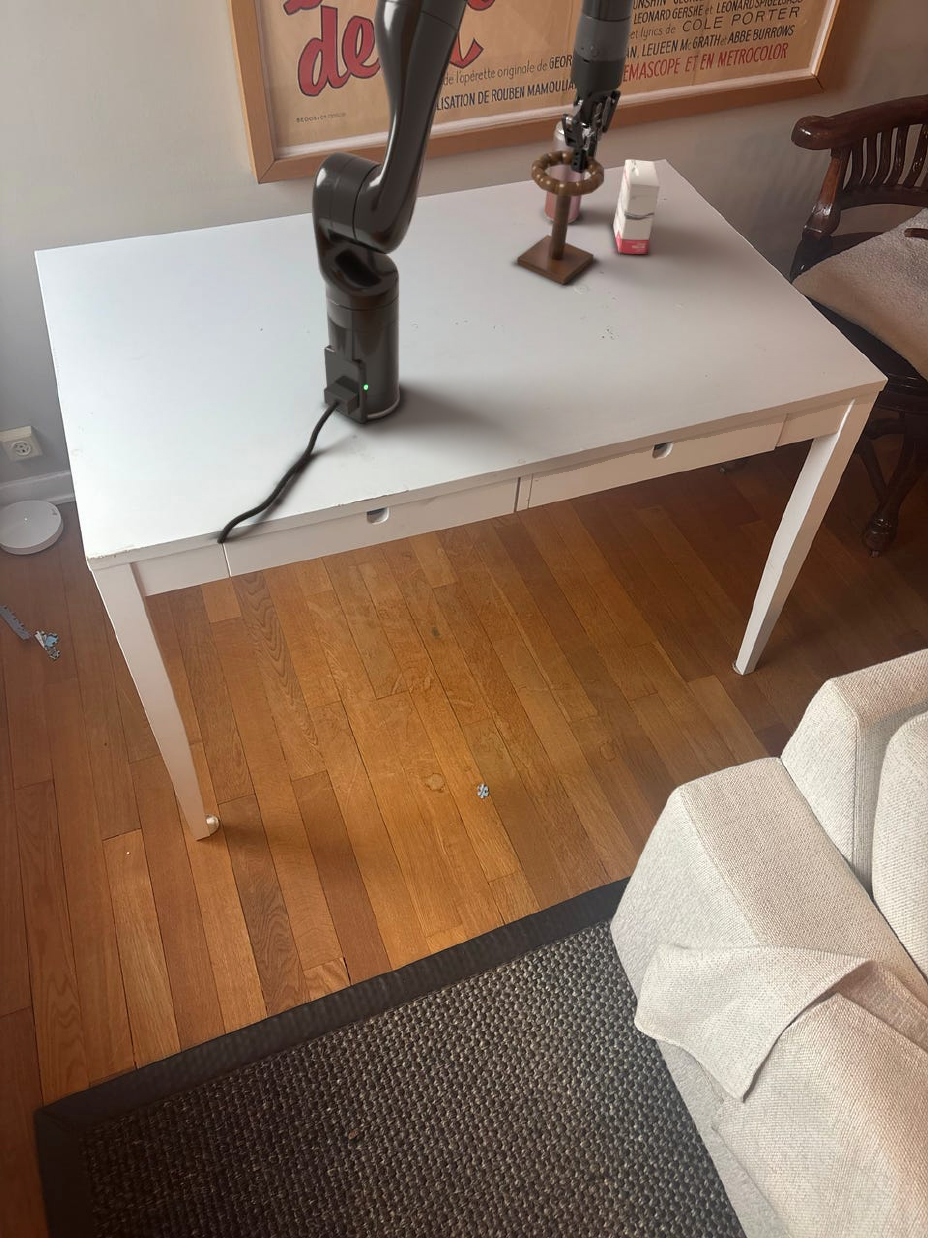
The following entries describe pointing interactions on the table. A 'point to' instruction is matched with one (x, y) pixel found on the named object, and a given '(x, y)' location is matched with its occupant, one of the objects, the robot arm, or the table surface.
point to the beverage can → (563, 177)
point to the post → (556, 249)
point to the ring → (566, 186)
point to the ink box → (636, 206)
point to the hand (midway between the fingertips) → (582, 167)
